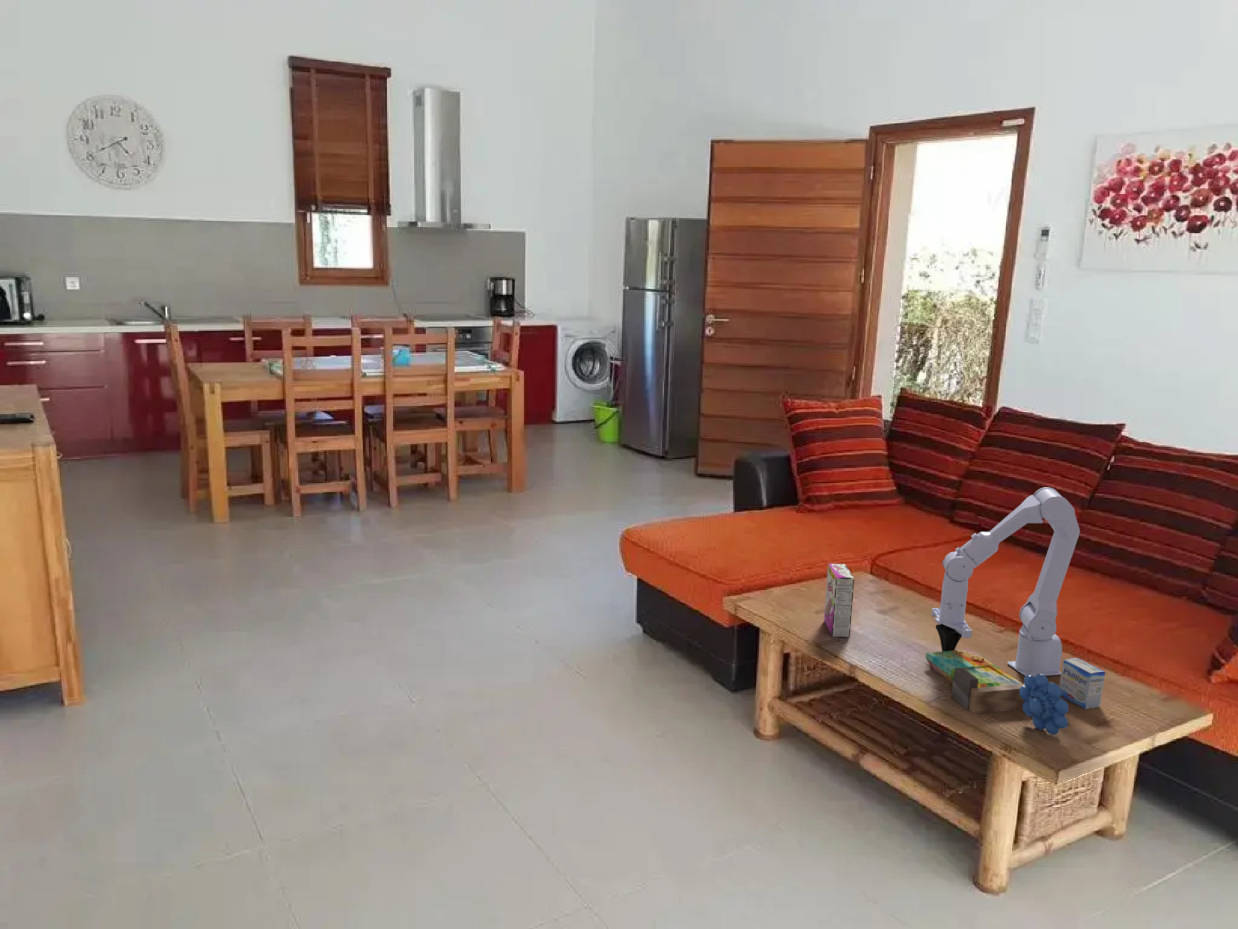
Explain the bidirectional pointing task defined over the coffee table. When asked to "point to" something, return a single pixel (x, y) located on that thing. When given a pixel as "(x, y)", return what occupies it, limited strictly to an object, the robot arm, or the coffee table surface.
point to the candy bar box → (839, 600)
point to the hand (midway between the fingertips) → (947, 654)
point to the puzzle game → (969, 667)
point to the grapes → (1044, 703)
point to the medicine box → (1081, 683)
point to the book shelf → (984, 694)
